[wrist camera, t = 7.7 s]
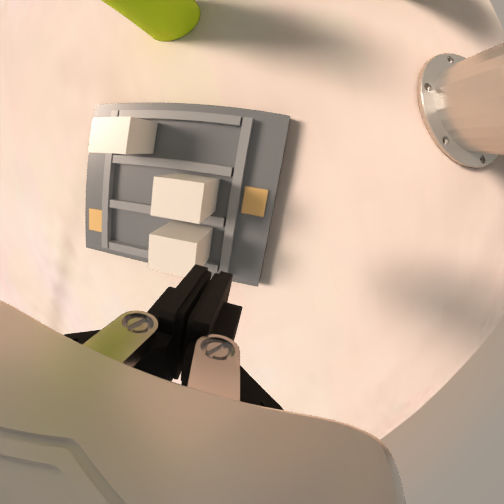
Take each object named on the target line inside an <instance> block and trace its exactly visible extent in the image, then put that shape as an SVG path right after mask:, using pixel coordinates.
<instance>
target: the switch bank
mask: <svg viewBox="0 0 504 504" xmlns="http://www.w3.org/2000/svg"><path fill="white" fill-rule="evenodd" d="M95 117H135V118H140V119H144V120H149V121H153V122H157V123H158V125H157V131H156V138H155V145H154V152H153V154H115V153H93V152H89V156H88V168H87V183H86V247H87V248H91V249H95V250H99V251H103V252H107V253H111V254H115V255H119V256H123V257H127V258H131V259H135V260H139V261H143V262H148V250H149V234H150V233H152V232H153V231H155V230H157V229H158V228H160V227H162V226H163V225H165V224H167V223H168V222H170V221H172V220H174V219H169V218H163V217H157V216H152V215H150V214H151V201H152V190H153V180H154V176H159V175H165V174H172V173H185V174H193V175H200V176H207V177H214V178H220V183H219V190H218V197H217V203H216V211H215V212H214V213H213V214H211V215H210V216H209V217H208V218H206V219H205V220H204V221H202V222H201V223H200V224H197V225H203V226H208V227H213V233H212V240H211V248H210V257H209V259H208V260H207V262H206V263H205V264H204V267H208V271H210V272H212V274H211V277H213V275H214V273H218V274H219V273H220V271H223V272H227V273H231V274H233V278H232V281H233V282H238V283H243V284H248V285H253V286H258V284H259V279H260V274H261V269H262V264H263V259H264V254H265V249H266V243H267V238H268V233H269V228H270V223H271V218H272V212H273V207H274V202H275V196H276V191H277V186H278V180H279V175H280V170H281V164H282V159H283V153H284V148H285V142H286V137H287V131H288V126H289V120H290V116H287V115H282V114H276V113H270V112H264V111H257V110H250V109H242V108H234V107H225V106H214V105H201V104H184V103H117V104H100V105H96V106H95V111H94V117H93V118H95ZM175 221H180V220H175ZM181 222H185V221H181ZM186 223H191V222H186ZM192 224H196V223H192Z"/></svg>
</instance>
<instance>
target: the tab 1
mask: <svg viewBox="0 0 504 504" xmlns="http://www.w3.org/2000/svg"><path fill="white" fill-rule="evenodd" d="M157 125H158V123H157V122H153V121H149V120H144V119H140V118H135V117H95V118H93V119H92V125H91V132H90V140H89V149H88V152H93V153H115V154H153V152H154V145H155V138H156V131H157Z"/></svg>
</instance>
